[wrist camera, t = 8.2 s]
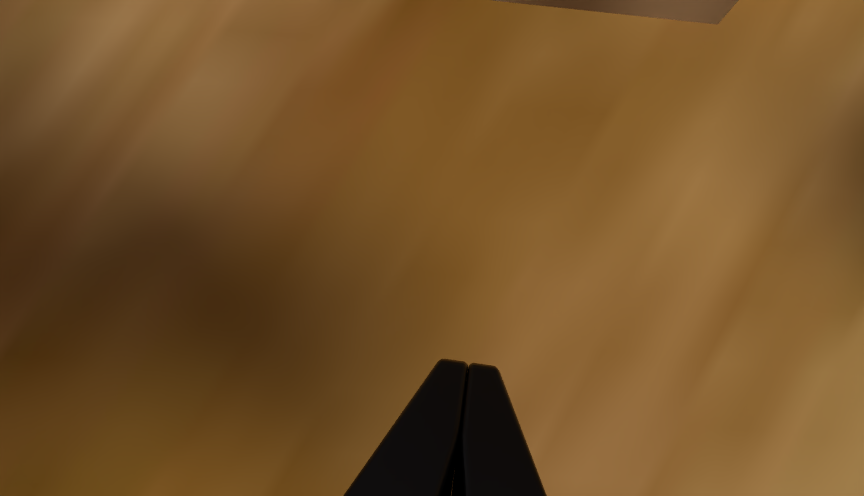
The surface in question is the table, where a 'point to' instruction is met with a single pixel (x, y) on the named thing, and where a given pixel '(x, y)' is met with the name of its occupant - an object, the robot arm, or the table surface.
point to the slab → (648, 8)
